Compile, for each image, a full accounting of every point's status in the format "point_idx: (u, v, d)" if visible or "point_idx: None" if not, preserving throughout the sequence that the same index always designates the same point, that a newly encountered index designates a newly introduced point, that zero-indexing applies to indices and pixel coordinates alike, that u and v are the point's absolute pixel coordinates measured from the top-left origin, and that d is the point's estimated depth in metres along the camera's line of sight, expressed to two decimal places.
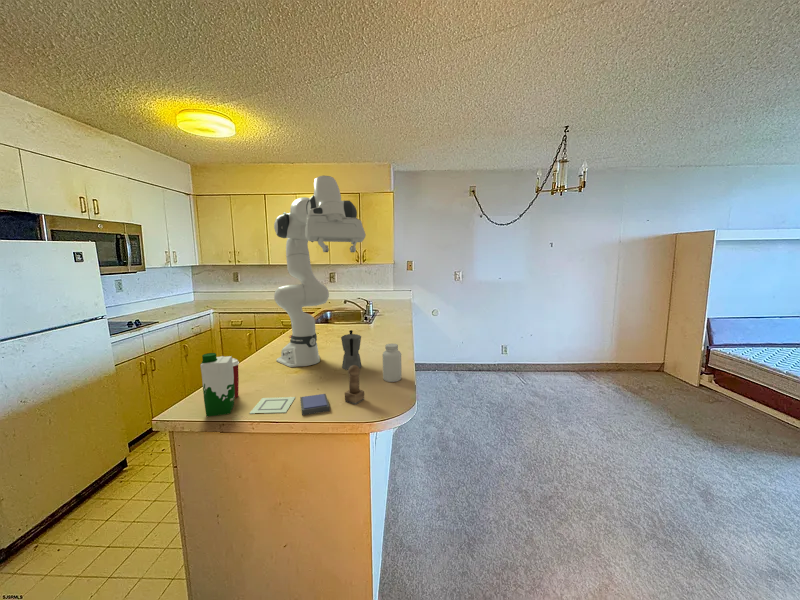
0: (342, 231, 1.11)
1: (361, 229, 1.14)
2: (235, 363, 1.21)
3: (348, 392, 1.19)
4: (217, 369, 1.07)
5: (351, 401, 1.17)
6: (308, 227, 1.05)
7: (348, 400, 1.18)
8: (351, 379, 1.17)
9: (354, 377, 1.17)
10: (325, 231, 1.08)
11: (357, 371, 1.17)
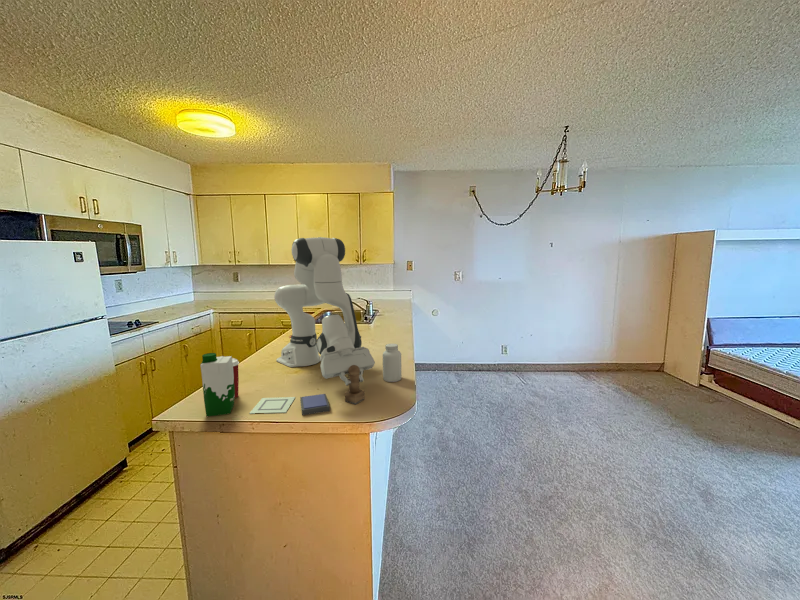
0: (354, 363, 1.21)
1: (370, 357, 1.26)
2: (235, 363, 1.21)
3: (348, 392, 1.19)
4: (217, 369, 1.07)
5: (351, 401, 1.17)
6: (324, 366, 1.15)
7: (348, 400, 1.18)
8: (351, 379, 1.17)
9: (354, 377, 1.17)
10: (339, 367, 1.18)
11: (357, 371, 1.17)
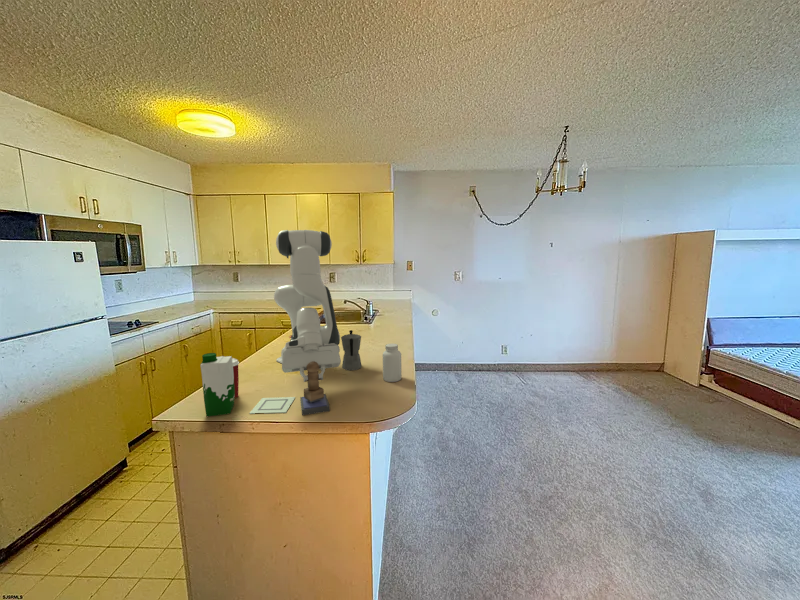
0: (316, 359, 1.16)
1: (336, 355, 1.19)
2: (235, 363, 1.21)
3: (307, 389, 1.14)
4: (217, 369, 1.07)
5: (308, 399, 1.13)
6: (282, 360, 1.13)
7: (306, 397, 1.14)
8: (308, 376, 1.13)
9: (311, 374, 1.12)
10: (299, 362, 1.14)
11: (314, 368, 1.12)
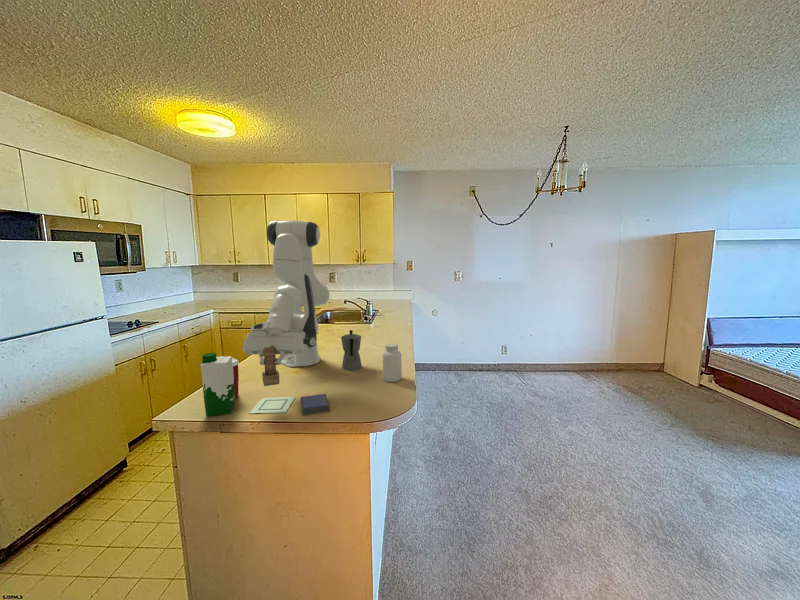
0: (277, 344, 1.16)
1: (298, 341, 1.17)
2: (235, 363, 1.21)
3: (264, 372, 1.14)
4: (217, 369, 1.07)
5: (263, 382, 1.12)
6: (244, 342, 1.15)
7: None
8: (264, 359, 1.12)
9: (266, 358, 1.11)
10: (259, 345, 1.15)
11: (268, 352, 1.11)
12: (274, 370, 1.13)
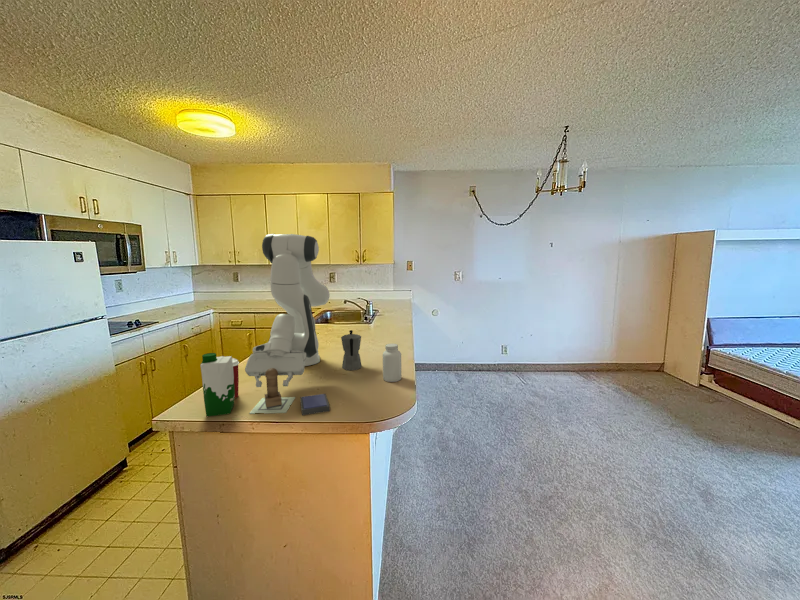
0: (278, 366, 1.17)
1: (299, 363, 1.18)
2: (235, 363, 1.21)
3: (267, 394, 1.16)
4: (217, 369, 1.07)
5: None
6: (246, 364, 1.17)
7: (265, 403, 1.16)
8: None
9: (268, 381, 1.13)
10: (261, 367, 1.17)
11: (270, 375, 1.13)
12: (276, 392, 1.15)
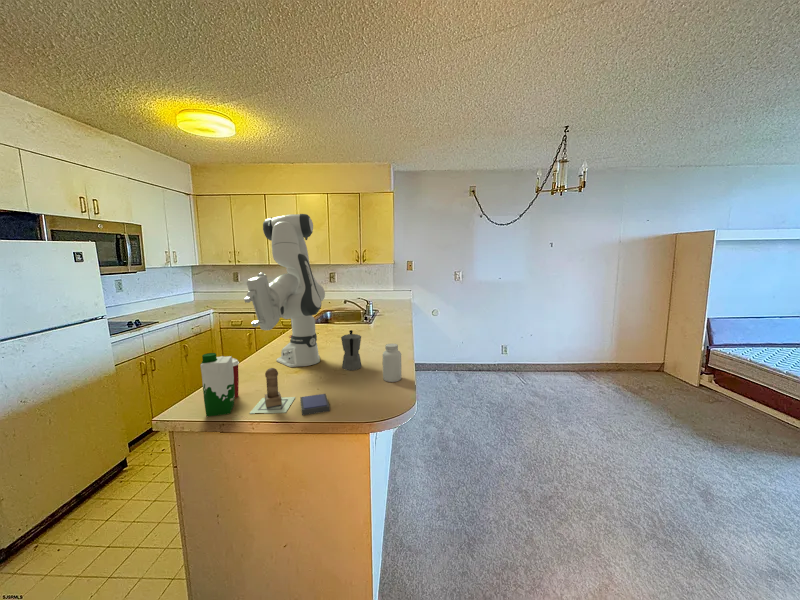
0: None
1: None
2: (235, 363, 1.21)
3: (267, 394, 1.16)
4: (217, 369, 1.07)
5: None
6: None
7: (265, 403, 1.16)
8: None
9: (268, 381, 1.13)
10: None
11: (270, 375, 1.13)
12: (276, 392, 1.15)
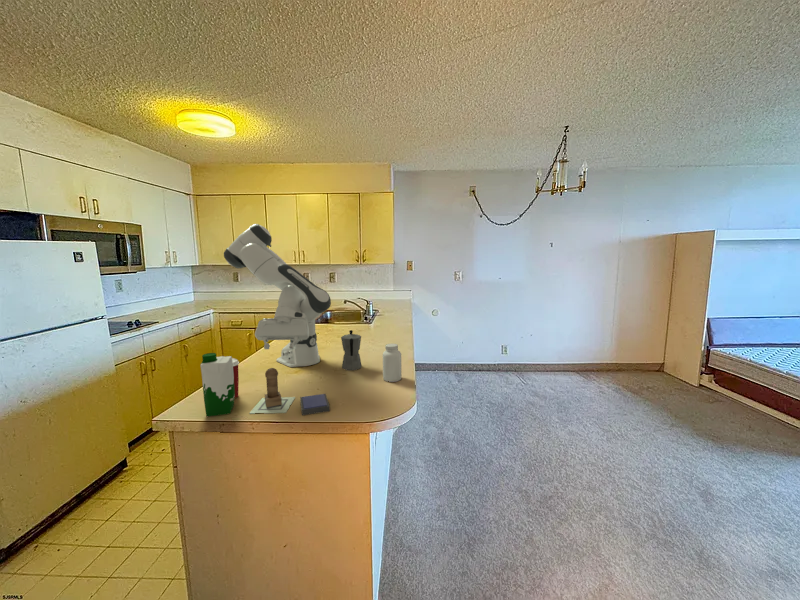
0: None
1: None
2: (235, 363, 1.21)
3: (267, 394, 1.16)
4: (217, 369, 1.07)
5: None
6: None
7: (265, 403, 1.16)
8: None
9: (268, 381, 1.13)
10: None
11: (270, 375, 1.13)
12: (276, 392, 1.15)
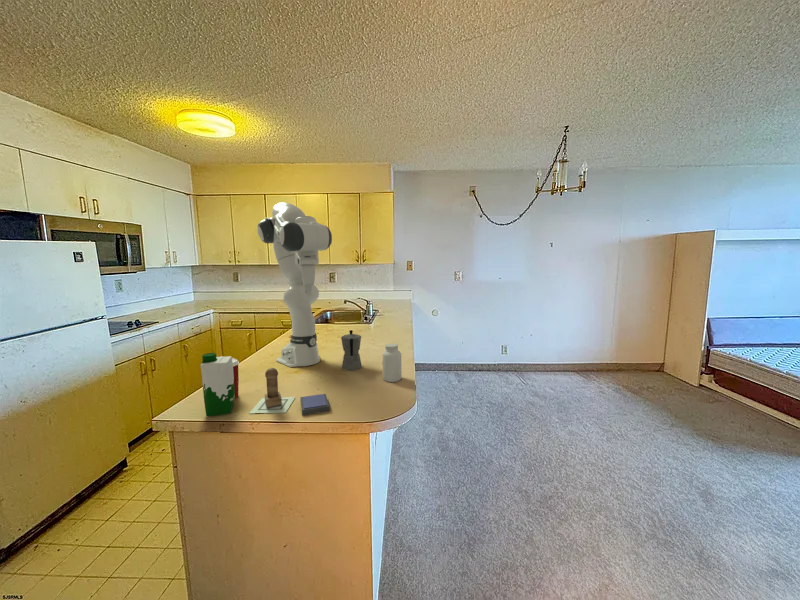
0: None
1: None
2: (235, 363, 1.21)
3: (267, 394, 1.16)
4: (217, 369, 1.07)
5: None
6: (314, 277, 1.20)
7: (265, 403, 1.16)
8: None
9: (268, 381, 1.13)
10: None
11: (270, 375, 1.13)
12: (276, 392, 1.15)
